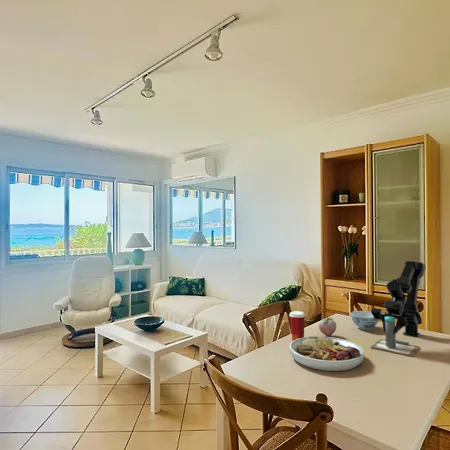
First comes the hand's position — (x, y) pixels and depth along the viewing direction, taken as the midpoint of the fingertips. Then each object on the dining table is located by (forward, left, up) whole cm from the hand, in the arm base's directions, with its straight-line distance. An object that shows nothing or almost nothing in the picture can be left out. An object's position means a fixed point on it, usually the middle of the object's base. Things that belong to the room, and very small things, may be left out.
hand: (389, 332), depth 147 cm
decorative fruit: (-1, -30, -8) cm, 31 cm away
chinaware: (-27, -20, -8) cm, 35 cm away
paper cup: (+15, -38, -8) cm, 41 cm away
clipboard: (-4, +1, -8) cm, 9 cm away
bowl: (+27, -18, -8) cm, 33 cm away
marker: (-2, 0, -6) cm, 7 cm away
